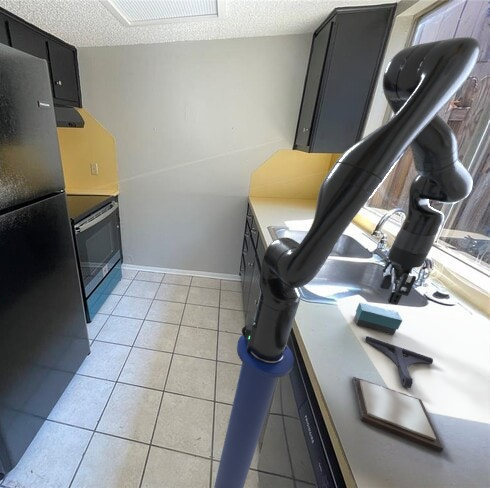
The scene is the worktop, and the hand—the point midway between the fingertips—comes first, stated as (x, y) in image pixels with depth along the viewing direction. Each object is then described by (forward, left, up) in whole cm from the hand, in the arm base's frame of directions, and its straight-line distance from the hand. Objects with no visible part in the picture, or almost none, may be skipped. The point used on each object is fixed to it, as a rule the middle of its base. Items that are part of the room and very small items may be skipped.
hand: (387, 295), depth 77 cm
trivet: (-3, -32, -12) cm, 34 cm away
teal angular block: (0, 0, -12) cm, 12 cm away
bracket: (+2, -16, -12) cm, 20 cm away
